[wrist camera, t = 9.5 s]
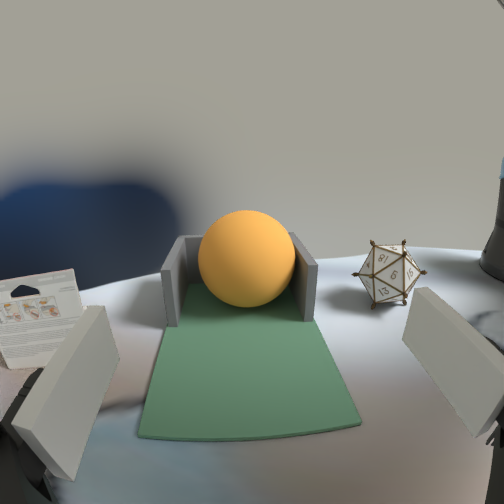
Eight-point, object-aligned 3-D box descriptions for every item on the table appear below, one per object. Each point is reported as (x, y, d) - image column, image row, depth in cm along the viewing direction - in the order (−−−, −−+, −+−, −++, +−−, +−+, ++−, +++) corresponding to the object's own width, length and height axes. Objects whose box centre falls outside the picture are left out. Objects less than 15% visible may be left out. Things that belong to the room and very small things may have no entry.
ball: (297, 323, 30) (265, 308, 41) (321, 220, 31) (284, 230, 42) (190, 301, 27) (186, 290, 38) (219, 188, 28) (206, 207, 39)
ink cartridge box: (13, 358, 23) (-18, 274, 20) (101, 348, 27) (78, 259, 24) (8, 371, 21) (-27, 284, 18) (101, 362, 25) (74, 268, 22)
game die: (365, 327, 37) (328, 264, 37) (399, 289, 41) (366, 232, 40) (415, 326, 29) (374, 249, 29) (446, 282, 32) (412, 213, 32)
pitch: (292, 278, 44) (294, 231, 41) (360, 424, 18) (384, 353, 16) (181, 282, 43) (177, 234, 40) (138, 437, 17) (110, 366, 15)
